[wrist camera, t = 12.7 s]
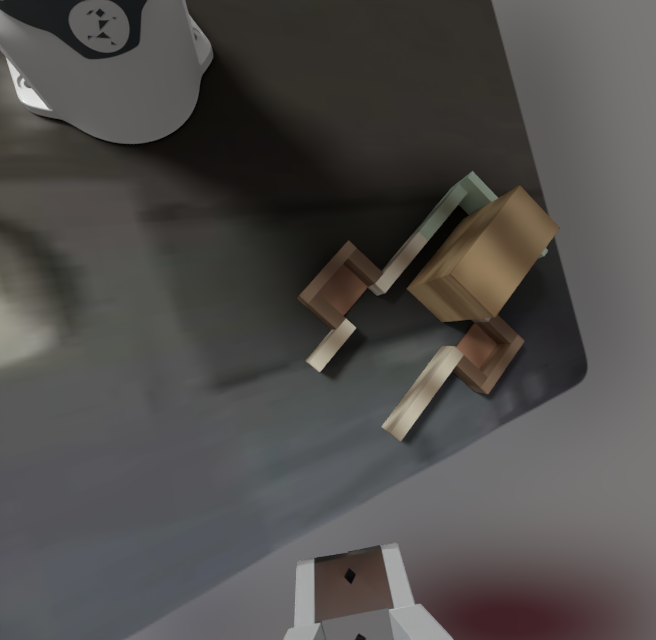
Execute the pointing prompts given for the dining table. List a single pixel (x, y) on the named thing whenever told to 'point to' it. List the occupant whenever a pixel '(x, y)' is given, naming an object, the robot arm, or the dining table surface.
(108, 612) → the dining table surface
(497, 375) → the lane
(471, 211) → the end wall
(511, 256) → the block
